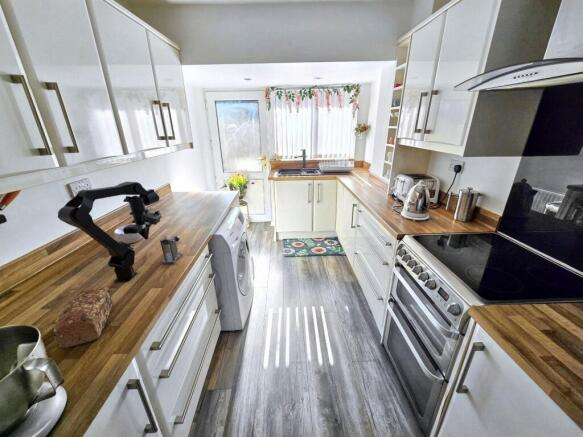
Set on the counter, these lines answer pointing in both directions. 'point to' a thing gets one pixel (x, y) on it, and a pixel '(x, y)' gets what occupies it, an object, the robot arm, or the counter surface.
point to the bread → (83, 317)
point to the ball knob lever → (168, 239)
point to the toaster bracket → (169, 257)
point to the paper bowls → (126, 235)
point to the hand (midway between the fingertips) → (146, 239)
